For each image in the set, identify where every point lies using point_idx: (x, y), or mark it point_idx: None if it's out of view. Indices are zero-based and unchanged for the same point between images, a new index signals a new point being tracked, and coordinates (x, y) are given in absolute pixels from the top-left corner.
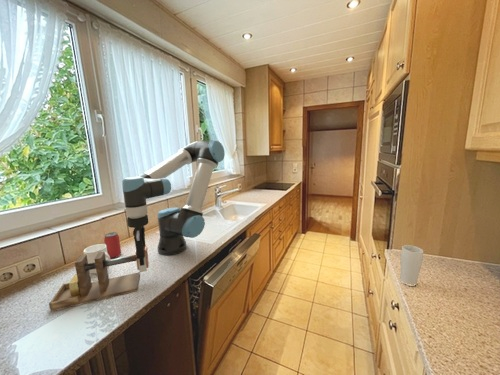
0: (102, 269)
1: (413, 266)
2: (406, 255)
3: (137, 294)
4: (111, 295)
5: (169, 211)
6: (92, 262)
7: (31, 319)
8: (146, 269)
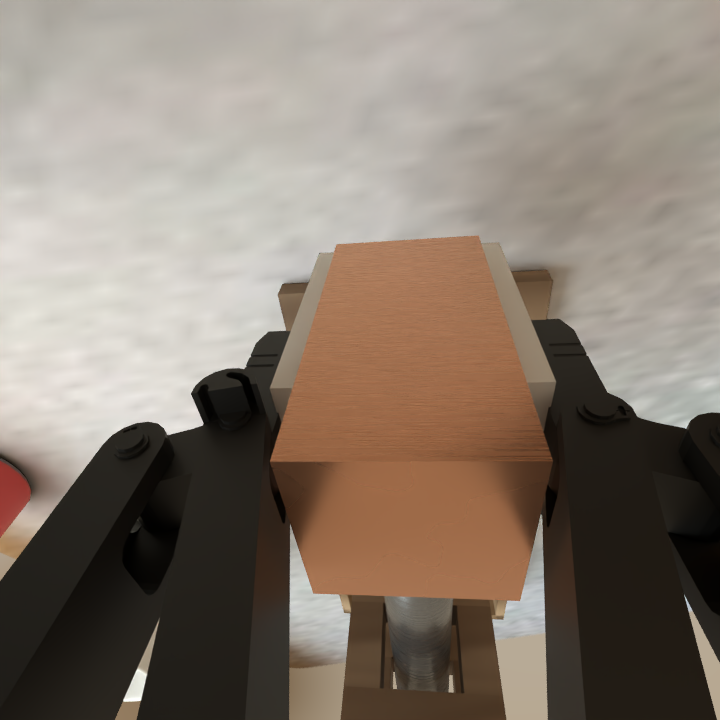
0: (492, 629)
1: None
2: None
3: (614, 260)
4: None
5: None
6: None
7: (514, 605)
8: (502, 254)
